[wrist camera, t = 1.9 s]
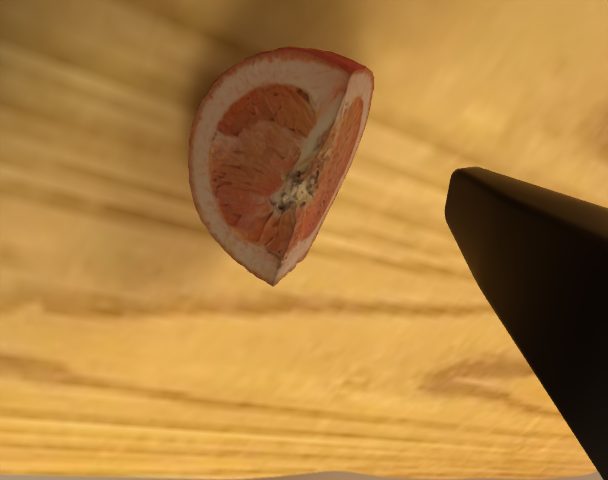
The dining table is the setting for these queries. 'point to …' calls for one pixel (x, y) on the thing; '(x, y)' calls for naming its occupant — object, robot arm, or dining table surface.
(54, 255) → the dining table surface
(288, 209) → the fruit slice
